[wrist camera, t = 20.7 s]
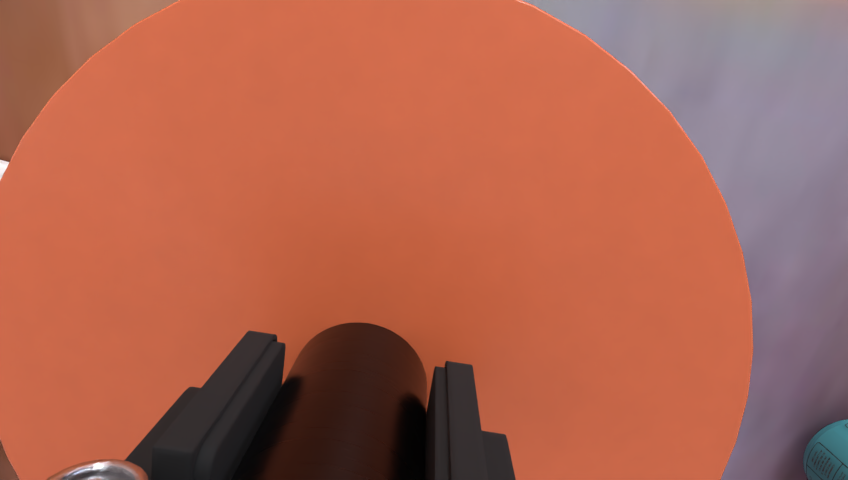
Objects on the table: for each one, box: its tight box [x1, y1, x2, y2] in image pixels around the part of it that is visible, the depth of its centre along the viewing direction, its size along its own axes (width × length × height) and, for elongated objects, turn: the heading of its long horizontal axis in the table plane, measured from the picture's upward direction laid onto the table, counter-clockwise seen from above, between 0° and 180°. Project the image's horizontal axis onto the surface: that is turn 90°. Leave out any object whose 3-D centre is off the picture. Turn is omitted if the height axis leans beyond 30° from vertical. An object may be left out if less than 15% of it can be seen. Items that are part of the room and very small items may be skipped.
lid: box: [0, 0, 753, 480], centre depth 10 cm, size 17×17×8 cm
